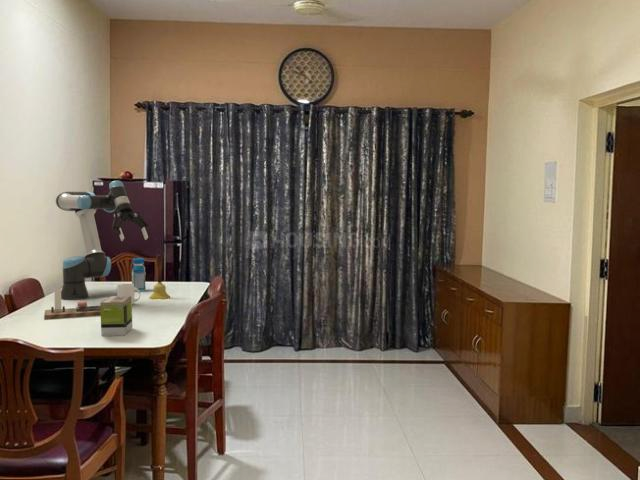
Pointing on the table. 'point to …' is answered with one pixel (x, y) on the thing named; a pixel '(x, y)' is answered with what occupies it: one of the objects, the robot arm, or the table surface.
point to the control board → (73, 312)
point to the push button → (82, 304)
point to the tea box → (116, 315)
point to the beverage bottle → (138, 274)
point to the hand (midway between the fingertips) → (134, 239)
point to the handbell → (159, 283)
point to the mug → (127, 291)
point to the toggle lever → (57, 298)
